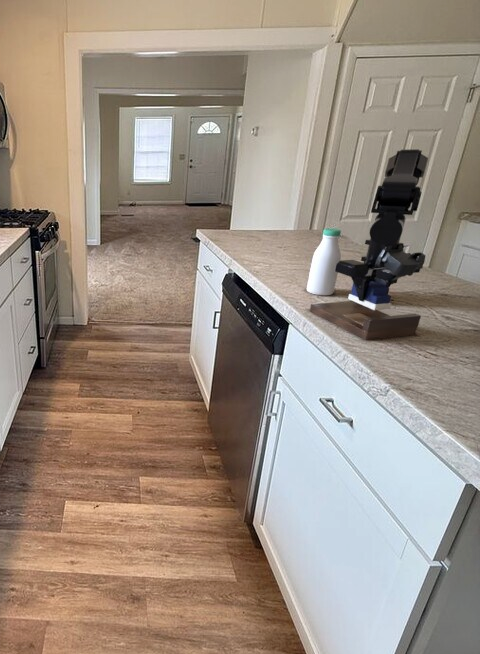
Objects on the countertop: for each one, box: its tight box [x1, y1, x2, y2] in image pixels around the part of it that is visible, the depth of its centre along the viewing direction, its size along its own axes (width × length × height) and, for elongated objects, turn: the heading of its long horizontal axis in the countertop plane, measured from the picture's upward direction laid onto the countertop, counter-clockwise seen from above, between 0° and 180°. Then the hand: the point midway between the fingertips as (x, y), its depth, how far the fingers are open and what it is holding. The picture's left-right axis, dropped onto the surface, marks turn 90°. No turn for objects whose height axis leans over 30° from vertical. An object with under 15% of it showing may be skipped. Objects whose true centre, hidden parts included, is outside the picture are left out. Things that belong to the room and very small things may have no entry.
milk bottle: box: [306, 228, 342, 296], centre depth 125 cm, size 8×8×20 cm
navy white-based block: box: [348, 281, 392, 311], centre depth 99 cm, size 8×4×5 cm, turn 10°
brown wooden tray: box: [309, 300, 422, 341], centre depth 105 cm, size 20×14×5 cm
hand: (369, 300), depth 100 cm, fingers closed on navy white-based block, 4 cm apart
